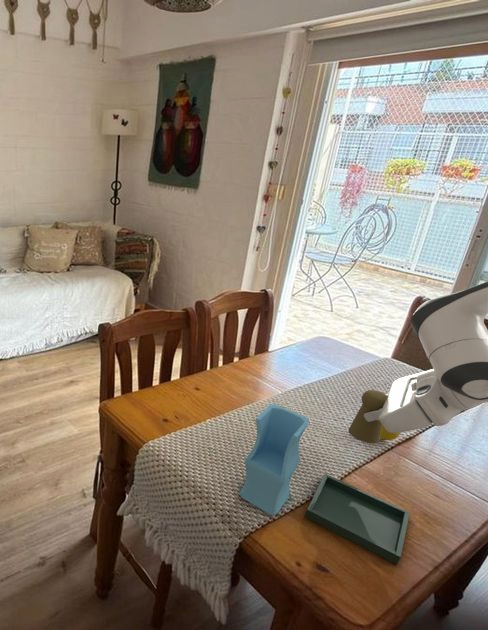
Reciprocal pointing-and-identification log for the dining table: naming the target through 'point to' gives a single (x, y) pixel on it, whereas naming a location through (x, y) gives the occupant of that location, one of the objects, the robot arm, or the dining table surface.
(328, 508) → the spice tray
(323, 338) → the dining table surface
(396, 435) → the lemon
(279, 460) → the blue toy chair
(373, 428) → the pepper mill
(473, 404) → the robot arm
